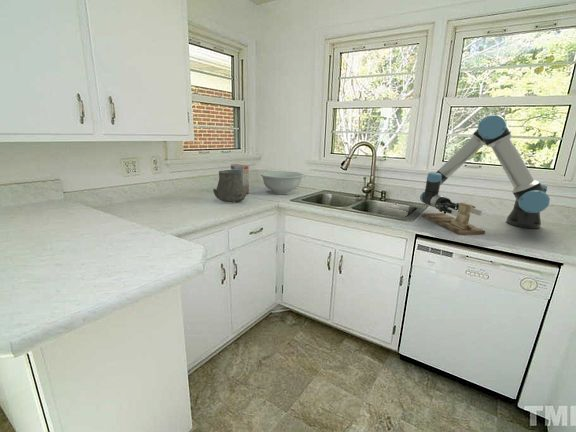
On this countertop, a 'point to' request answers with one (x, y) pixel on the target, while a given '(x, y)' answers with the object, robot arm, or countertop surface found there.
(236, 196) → the vessel
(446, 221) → the walnut board
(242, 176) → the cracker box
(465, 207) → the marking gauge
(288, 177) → the bowl
